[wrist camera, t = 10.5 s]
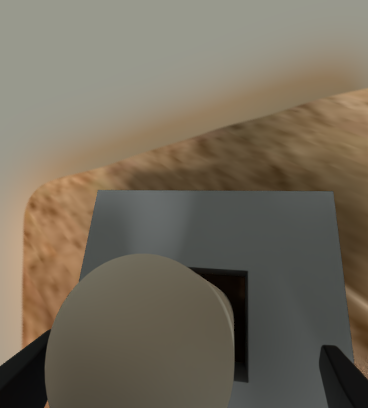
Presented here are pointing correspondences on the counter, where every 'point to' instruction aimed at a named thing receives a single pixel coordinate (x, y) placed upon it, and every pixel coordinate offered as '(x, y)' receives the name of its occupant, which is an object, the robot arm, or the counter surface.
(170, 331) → the long pin
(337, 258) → the socket block
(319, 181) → the counter surface
